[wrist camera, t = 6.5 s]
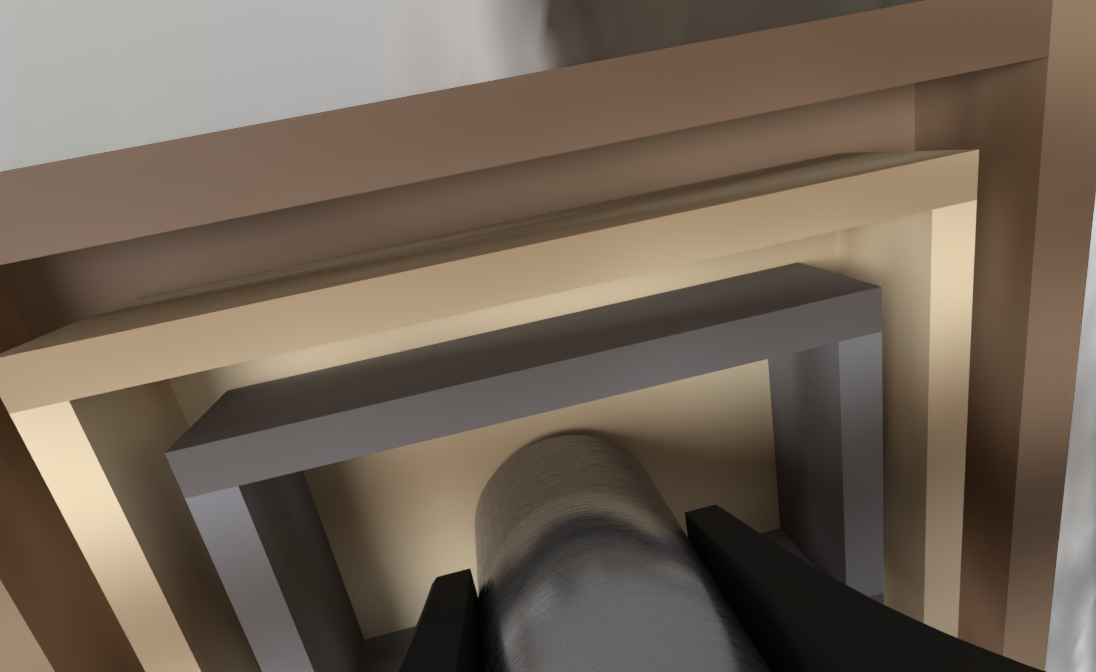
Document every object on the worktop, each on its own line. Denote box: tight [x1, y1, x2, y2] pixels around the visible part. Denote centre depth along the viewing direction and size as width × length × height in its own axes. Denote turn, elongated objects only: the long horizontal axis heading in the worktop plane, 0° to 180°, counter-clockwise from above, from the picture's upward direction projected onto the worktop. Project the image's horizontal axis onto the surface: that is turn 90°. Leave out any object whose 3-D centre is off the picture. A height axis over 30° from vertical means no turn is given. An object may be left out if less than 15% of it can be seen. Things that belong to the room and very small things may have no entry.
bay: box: [0, 0, 1096, 672], centre depth 14 cm, size 22×21×4 cm
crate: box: [0, 149, 979, 672], centre depth 12 cm, size 11×15×4 cm
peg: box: [475, 435, 771, 672], centre depth 10 cm, size 4×4×6 cm
